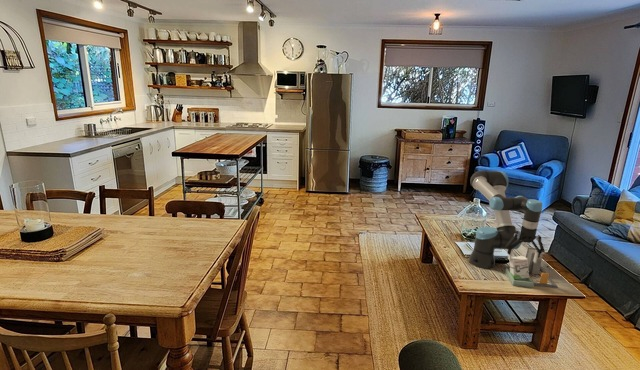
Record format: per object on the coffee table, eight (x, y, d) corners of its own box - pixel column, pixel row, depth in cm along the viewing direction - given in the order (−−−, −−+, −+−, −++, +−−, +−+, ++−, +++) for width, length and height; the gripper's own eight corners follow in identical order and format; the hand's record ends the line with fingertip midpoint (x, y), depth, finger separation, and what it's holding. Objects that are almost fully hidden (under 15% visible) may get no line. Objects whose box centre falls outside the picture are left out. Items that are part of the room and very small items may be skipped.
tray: (512, 285, 206) (513, 280, 205) (504, 272, 220) (505, 268, 219) (532, 287, 204) (533, 283, 203) (523, 274, 218) (524, 270, 217)
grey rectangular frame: (531, 284, 207) (534, 274, 205) (515, 261, 234) (517, 251, 232) (557, 287, 205) (560, 276, 203) (537, 263, 232) (540, 253, 230)
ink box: (514, 279, 209) (512, 260, 207) (510, 275, 214) (508, 257, 212) (529, 277, 208) (528, 258, 206) (525, 274, 213) (524, 255, 211)
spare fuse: (529, 271, 221) (533, 254, 218) (524, 264, 230) (527, 247, 226) (538, 272, 220) (542, 255, 217) (532, 265, 229) (536, 248, 225)
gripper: (507, 227, 201) (500, 261, 207) (556, 232, 197) (548, 266, 203) (503, 222, 208) (497, 255, 214) (550, 226, 204) (542, 259, 210)
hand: (521, 260), depth 209 cm, fingers open, 13 cm apart
